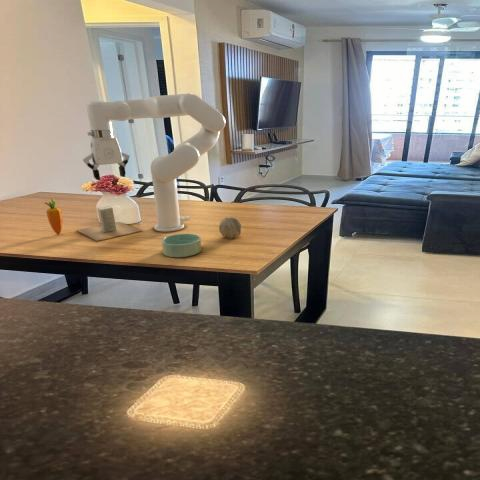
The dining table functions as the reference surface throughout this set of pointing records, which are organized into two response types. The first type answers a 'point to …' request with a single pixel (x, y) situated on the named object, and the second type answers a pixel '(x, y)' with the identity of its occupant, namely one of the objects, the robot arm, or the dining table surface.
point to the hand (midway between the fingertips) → (110, 178)
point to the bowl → (181, 245)
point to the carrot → (54, 217)
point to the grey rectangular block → (107, 219)
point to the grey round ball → (230, 227)
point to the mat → (99, 235)
